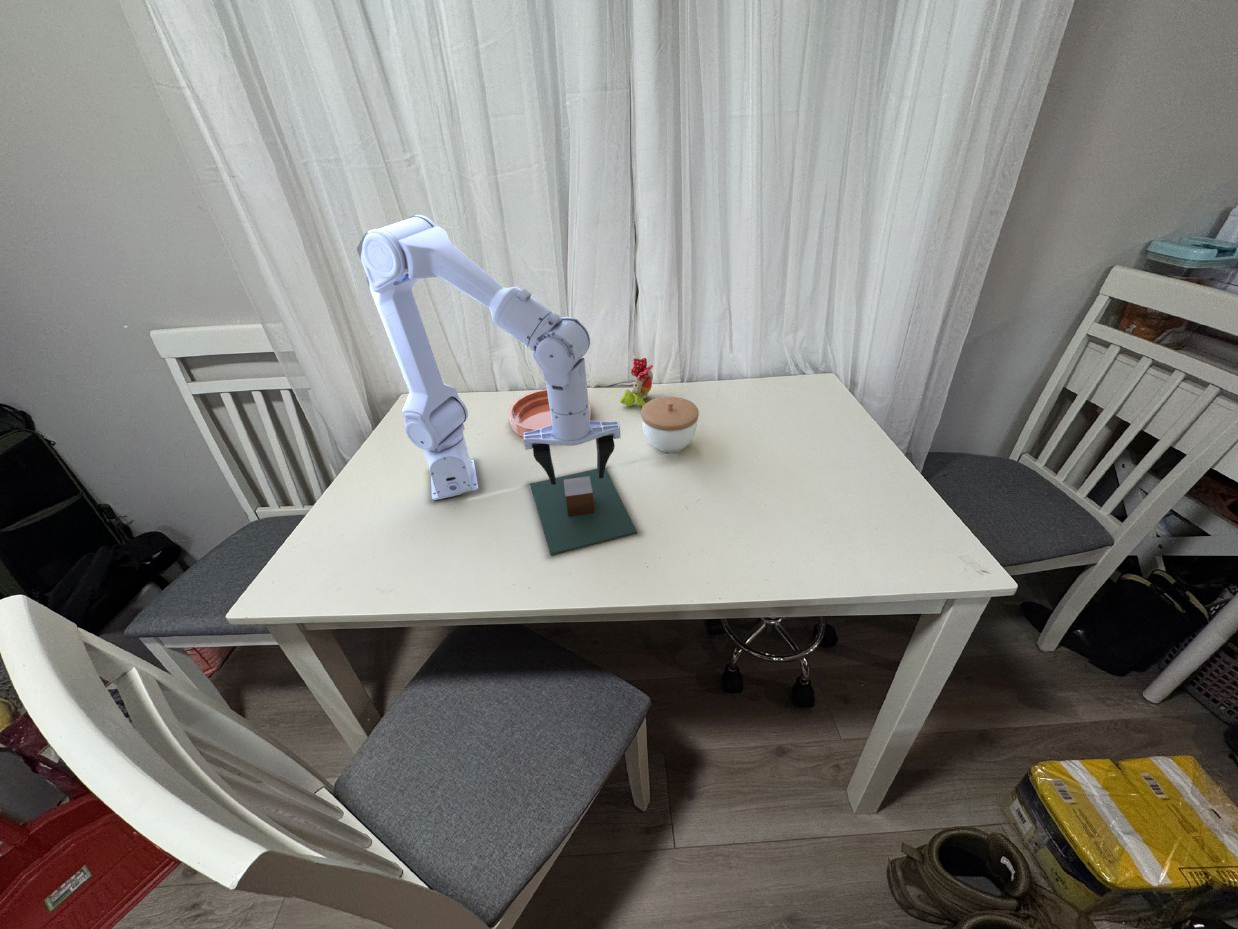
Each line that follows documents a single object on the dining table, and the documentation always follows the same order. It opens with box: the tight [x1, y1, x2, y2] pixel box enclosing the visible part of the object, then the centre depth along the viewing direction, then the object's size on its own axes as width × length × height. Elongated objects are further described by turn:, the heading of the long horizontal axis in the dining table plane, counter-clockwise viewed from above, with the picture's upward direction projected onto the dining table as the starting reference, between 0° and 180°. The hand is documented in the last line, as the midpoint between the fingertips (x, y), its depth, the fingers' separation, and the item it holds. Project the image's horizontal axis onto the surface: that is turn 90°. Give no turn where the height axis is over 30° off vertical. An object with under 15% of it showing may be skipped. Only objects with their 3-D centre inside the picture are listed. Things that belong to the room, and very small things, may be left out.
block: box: [564, 476, 595, 516], centre depth 86 cm, size 4×4×4 cm
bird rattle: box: [619, 357, 654, 408], centre depth 112 cm, size 6×11×9 cm
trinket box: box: [640, 396, 699, 454], centre depth 98 cm, size 11×11×9 cm
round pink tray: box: [508, 388, 592, 439], centre depth 109 cm, size 17×17×3 cm
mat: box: [530, 467, 638, 556], centre depth 87 cm, size 18×14×1 cm
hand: (577, 477), depth 83 cm, fingers open, 7 cm apart
